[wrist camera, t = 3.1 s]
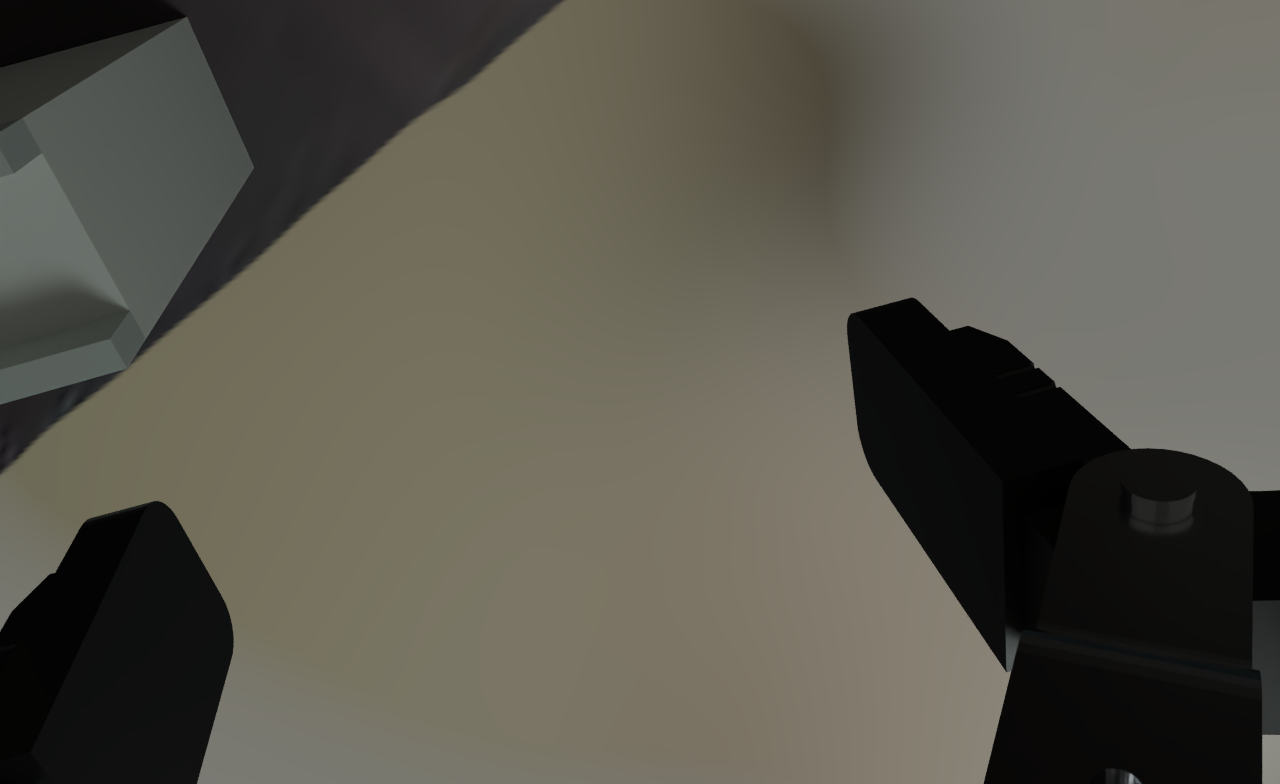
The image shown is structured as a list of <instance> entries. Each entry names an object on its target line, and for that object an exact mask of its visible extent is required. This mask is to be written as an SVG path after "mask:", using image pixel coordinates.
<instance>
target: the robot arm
mask: <svg viewBox="0 0 1280 784" xmlns="http://www.w3.org/2000/svg"><path fill="white" fill-rule="evenodd" d="M847 335H848V345H849V353H850V362H851V371H852V380H853V389H854V399H855V408H856V415H857V425H858V431H859V436H860V440H861V444H862V448H863V451H864V454H865V457H866V460H867V462H868V464H869V467H870V469H871V471H872V473H873V475H874V476H875V478H876V480H877V481H878V483H879V484H880V486H881V487H882V488H883V490H884V492H885V493H886V494H887V496H888V497H889V499H890V500H891V502H892V503H893V505H894V506H895V508H896V509H897V511H898V512H899V514H900V515H901V517H902V518H903V519H904V521H905V523H906V524H907V526H908V527H909V528H910V530H911V532H912V533H913V534H914V536H915V537H916V539H917V540H918V542H919V543H920V544H921V546H922V548H923V549H924V551H925V552H926V554H927V555H928V557H929V558H930V559H931V561H932V563H933V564H934V565H935V567H936V568H937V570H938V572H939V573H940V574H941V576H942V577H943V579H944V580H945V582H946V583H947V585H948V586H949V588H950V589H951V591H952V592H953V594H954V595H955V597H956V598H957V600H958V601H959V603H960V604H961V606H962V607H963V609H964V610H965V611H966V613H967V614H968V616H969V617H970V619H971V620H972V622H973V623H974V625H975V626H976V628H977V629H978V630H979V632H980V634H981V635H982V637H983V638H984V640H985V641H986V643H987V644H988V646H989V647H990V649H991V650H992V652H993V653H994V654H995V656H996V657H997V659H998V660H999V662H1000V663H1001V665H1002V666H1003V668H1004V669H1005V671H1006V672H1009V671H1011V675H1010V679H1009V683H1008V687H1007V691H1006V695H1005V700H1004V704H1003V708H1002V712H1001V716H1000V719H999V724H998V728H997V732H996V736H995V740H994V744H993V748H992V752H991V756H990V760H989V764H988V768H987V772H986V776H985V781H984V784H1262V735H1265V734H1266V735H1267V734H1268V735H1280V490H1277V491H1248V489H1247V488H1246V487H1245V485H1244V484H1243V483H1242V482H1241V480H1239V479H1238V478H1237V477H1236V476H1235V475H1233V474H1232V473H1231V472H1230V471H1228V470H1226V469H1225V468H1223V467H1222V466H1220V465H1218V464H1216V463H1213V462H1211V461H1209V460H1207V459H1204V458H1201V457H1198V456H1195V455H1192V454H1187V453H1183V452H1179V451H1172V450H1166V449H1150V448H1147V449H1130V448H1129V447H1128V446H1127V445H1126V444H1125V443H1124V442H1122V441H1121V440H1120V439H1119V438H1118V437H1117V436H1116V435H1114V434H1113V433H1112V432H1111V431H1110V430H1109V429H1108V428H1106V427H1105V426H1104V425H1103V424H1102V423H1101V422H1100V421H1099V420H1097V419H1096V418H1095V417H1094V416H1093V415H1092V414H1090V413H1089V412H1088V411H1087V410H1086V409H1085V408H1084V407H1083V406H1081V405H1080V404H1079V403H1078V402H1077V401H1076V400H1075V399H1073V398H1072V397H1071V396H1070V395H1069V394H1068V393H1067V392H1065V391H1064V390H1063V389H1062V388H1061V387H1058V388H1056V386H1055V382H1054V381H1053V380H1052V379H1051V378H1049V376H1047V375H1046V374H1045V373H1044V372H1043V371H1041V369H1039V368H1036V369H1035V368H1034V364H1033V362H1031V361H1030V360H1029V359H1028V358H1027V357H1026V356H1025V355H1023V354H1022V353H1021V352H1020V351H1019V350H1018V349H1017V348H1015V347H1014V346H1013V345H1012V344H1011V343H1010V342H1009V341H1007V340H1005V339H1002V338H999V337H997V336H994V335H991V334H989V333H986V332H983V331H981V330H978V329H975V328H973V327H970V326H965V327H962V328H958V329H955V330H951V331H949V330H948V329H947V328H946V327H945V326H944V325H943V324H942V323H941V322H940V321H939V320H938V319H937V318H936V317H934V315H932V313H930V312H929V311H928V310H927V309H926V308H925V307H924V306H923V305H922V304H921V303H920V302H919V301H918V300H916V299H915V298H908V299H904V300H901V301H897V302H893V303H889V304H886V305H883V306H878V307H874V308H871V309H867V310H863V311H859V312H856V313H852V314H851V315H850V316H849V318H848V322H847ZM233 640H234V639H233V629H232V623H231V619H230V615H229V612H228V609H227V606H226V604H225V602H224V600H223V598H222V596H221V594H220V593H219V591H218V589H217V587H216V585H215V584H214V582H213V580H212V579H211V577H210V575H209V573H208V571H207V570H206V568H205V566H204V564H203V563H202V561H201V559H200V557H199V556H198V554H197V552H196V551H195V549H194V547H193V545H192V543H191V541H190V540H189V538H188V537H187V534H186V533H185V531H184V529H183V527H182V526H181V524H180V522H179V520H178V519H177V517H176V516H175V514H174V513H173V511H172V510H171V509H170V508H169V507H168V506H167V505H166V504H164V503H162V502H159V501H154V502H150V503H146V504H142V505H139V506H135V507H131V508H127V509H124V510H120V511H116V512H113V513H108V514H105V515H101V516H97V517H93V518H90V519H88V520H87V521H85V522H84V523H83V525H82V526H81V528H80V529H79V531H78V533H77V535H76V537H75V539H74V540H73V542H72V544H71V546H70V547H69V549H68V551H67V553H66V555H65V557H64V558H63V560H62V562H61V564H60V566H59V567H58V569H57V571H56V573H53V574H50V575H48V576H47V577H46V578H45V579H44V580H43V581H42V582H41V583H40V584H39V585H38V586H37V587H36V588H35V589H34V590H33V591H32V592H31V593H30V594H29V595H28V596H27V597H26V598H25V599H24V600H23V601H22V602H21V603H20V604H19V605H18V606H17V607H16V608H15V609H14V610H13V611H12V613H11V614H10V616H9V617H8V619H7V621H6V623H5V624H4V626H3V628H2V629H1V632H0V784H197V781H198V777H199V773H200V770H201V766H202V763H203V759H204V756H205V752H206V748H207V745H208V741H209V738H210V734H211V730H212V727H213V723H214V720H215V716H216V712H217V709H218V705H219V702H220V698H221V694H222V691H223V687H224V684H225V680H226V676H227V672H228V669H229V666H230V662H231V658H232V654H233Z"/></svg>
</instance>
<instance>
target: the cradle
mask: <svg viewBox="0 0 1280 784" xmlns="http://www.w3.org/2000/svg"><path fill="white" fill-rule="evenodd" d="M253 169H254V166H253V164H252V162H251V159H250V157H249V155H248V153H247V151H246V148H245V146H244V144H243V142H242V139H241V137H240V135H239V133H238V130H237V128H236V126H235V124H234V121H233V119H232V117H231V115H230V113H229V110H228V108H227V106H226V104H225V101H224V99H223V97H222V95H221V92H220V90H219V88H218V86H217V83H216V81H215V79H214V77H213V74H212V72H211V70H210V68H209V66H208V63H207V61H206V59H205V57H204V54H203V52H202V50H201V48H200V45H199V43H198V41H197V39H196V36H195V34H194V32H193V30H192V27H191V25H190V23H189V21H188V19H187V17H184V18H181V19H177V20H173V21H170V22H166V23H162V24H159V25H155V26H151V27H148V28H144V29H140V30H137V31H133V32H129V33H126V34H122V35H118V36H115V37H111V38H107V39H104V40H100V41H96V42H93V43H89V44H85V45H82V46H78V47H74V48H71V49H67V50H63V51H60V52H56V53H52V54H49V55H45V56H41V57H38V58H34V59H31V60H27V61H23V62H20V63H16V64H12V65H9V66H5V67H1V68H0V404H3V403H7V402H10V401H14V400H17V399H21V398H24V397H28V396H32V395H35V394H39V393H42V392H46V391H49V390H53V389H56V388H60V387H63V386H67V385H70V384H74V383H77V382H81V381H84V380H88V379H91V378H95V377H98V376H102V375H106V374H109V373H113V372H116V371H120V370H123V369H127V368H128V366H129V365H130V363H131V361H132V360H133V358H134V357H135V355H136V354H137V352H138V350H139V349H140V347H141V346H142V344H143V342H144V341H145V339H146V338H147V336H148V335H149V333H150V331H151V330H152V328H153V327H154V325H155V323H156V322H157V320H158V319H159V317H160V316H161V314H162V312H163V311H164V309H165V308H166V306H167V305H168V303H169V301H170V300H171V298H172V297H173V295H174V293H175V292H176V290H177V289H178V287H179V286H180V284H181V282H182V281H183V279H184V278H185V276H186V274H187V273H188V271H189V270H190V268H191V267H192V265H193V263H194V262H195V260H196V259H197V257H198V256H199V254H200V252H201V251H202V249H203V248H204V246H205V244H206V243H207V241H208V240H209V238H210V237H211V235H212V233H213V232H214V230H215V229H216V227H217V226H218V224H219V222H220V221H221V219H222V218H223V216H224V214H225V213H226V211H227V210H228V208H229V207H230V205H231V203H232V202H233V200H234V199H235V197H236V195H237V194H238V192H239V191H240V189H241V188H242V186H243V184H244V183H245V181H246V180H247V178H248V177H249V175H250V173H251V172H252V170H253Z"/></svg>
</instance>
